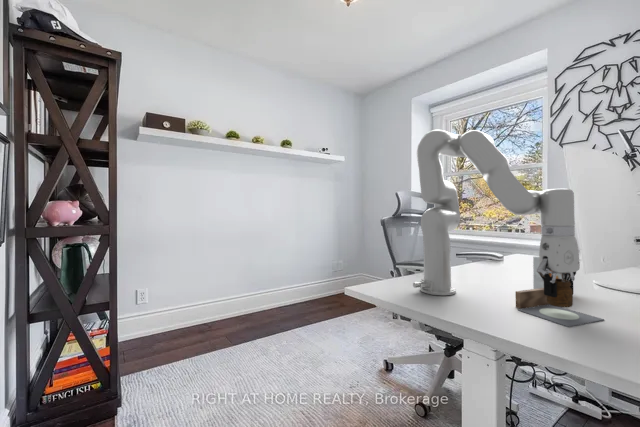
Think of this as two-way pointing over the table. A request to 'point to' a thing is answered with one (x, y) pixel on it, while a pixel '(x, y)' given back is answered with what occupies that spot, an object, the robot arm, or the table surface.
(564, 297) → the utensil holder
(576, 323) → the mat
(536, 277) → the small box
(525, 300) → the low wall
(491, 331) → the table surface
